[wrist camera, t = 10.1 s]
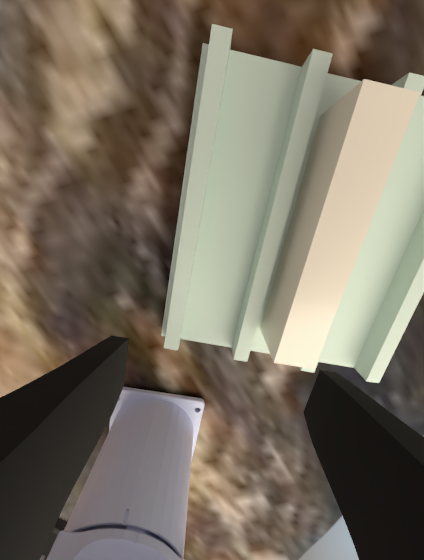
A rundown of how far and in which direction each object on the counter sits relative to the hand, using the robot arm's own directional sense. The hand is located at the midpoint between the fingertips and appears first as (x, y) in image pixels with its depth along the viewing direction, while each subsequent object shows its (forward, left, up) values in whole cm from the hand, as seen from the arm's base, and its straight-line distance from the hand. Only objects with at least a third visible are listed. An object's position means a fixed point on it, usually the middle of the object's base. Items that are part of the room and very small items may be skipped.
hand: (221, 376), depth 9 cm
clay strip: (+5, -5, -8) cm, 11 cm away
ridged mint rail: (+5, -5, -9) cm, 12 cm away
